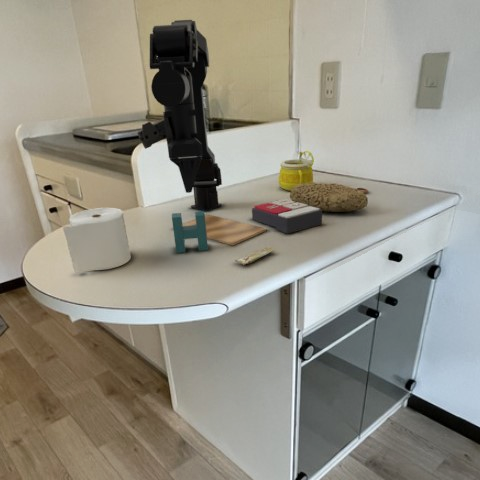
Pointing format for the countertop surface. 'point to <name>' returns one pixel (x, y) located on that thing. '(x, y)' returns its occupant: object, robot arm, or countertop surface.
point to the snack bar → (254, 256)
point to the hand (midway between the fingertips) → (187, 187)
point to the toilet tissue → (97, 239)
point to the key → (363, 190)
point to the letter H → (190, 231)
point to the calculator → (287, 215)
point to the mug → (296, 172)
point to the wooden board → (227, 230)
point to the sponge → (329, 197)
